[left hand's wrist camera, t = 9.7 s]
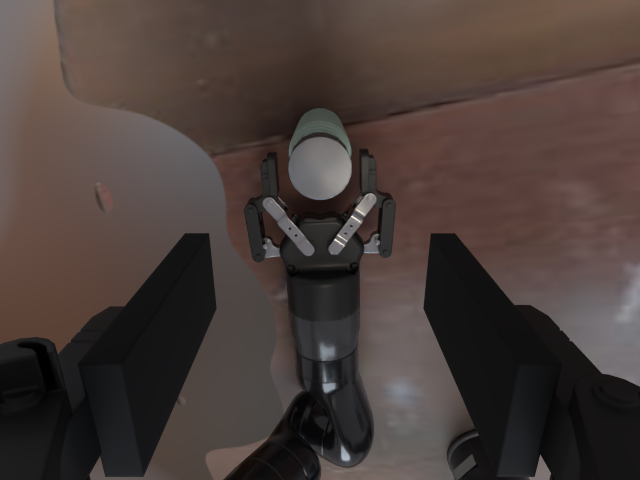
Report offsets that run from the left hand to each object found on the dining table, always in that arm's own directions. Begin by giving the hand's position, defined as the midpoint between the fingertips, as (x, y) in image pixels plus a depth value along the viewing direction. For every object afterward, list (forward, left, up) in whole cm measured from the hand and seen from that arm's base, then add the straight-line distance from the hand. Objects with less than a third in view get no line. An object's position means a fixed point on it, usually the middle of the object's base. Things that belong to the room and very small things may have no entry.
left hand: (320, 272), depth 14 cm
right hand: (+1, 0, -28) cm, 28 cm away
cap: (0, 0, -16) cm, 16 cm away
